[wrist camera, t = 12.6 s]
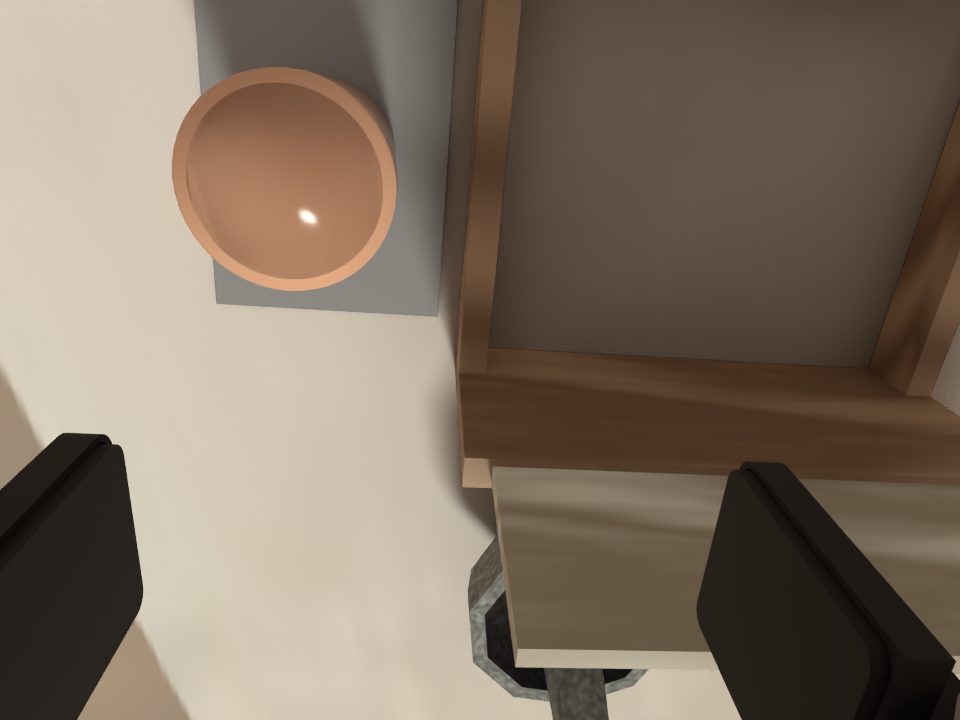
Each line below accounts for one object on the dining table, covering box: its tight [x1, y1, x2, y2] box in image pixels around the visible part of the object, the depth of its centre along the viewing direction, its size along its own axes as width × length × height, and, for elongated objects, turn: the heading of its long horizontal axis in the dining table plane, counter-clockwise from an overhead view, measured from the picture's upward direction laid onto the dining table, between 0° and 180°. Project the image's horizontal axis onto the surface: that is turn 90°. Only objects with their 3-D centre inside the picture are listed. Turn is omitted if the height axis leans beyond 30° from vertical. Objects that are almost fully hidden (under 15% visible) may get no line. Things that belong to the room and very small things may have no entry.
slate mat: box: [194, 0, 458, 317], centre depth 29 cm, size 14×10×1 cm
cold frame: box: [455, 0, 960, 674], centre depth 22 cm, size 19×22×18 cm
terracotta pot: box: [172, 67, 398, 291], centre depth 25 cm, size 7×7×8 cm
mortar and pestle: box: [468, 522, 649, 720], centre depth 32 cm, size 11×9×12 cm
